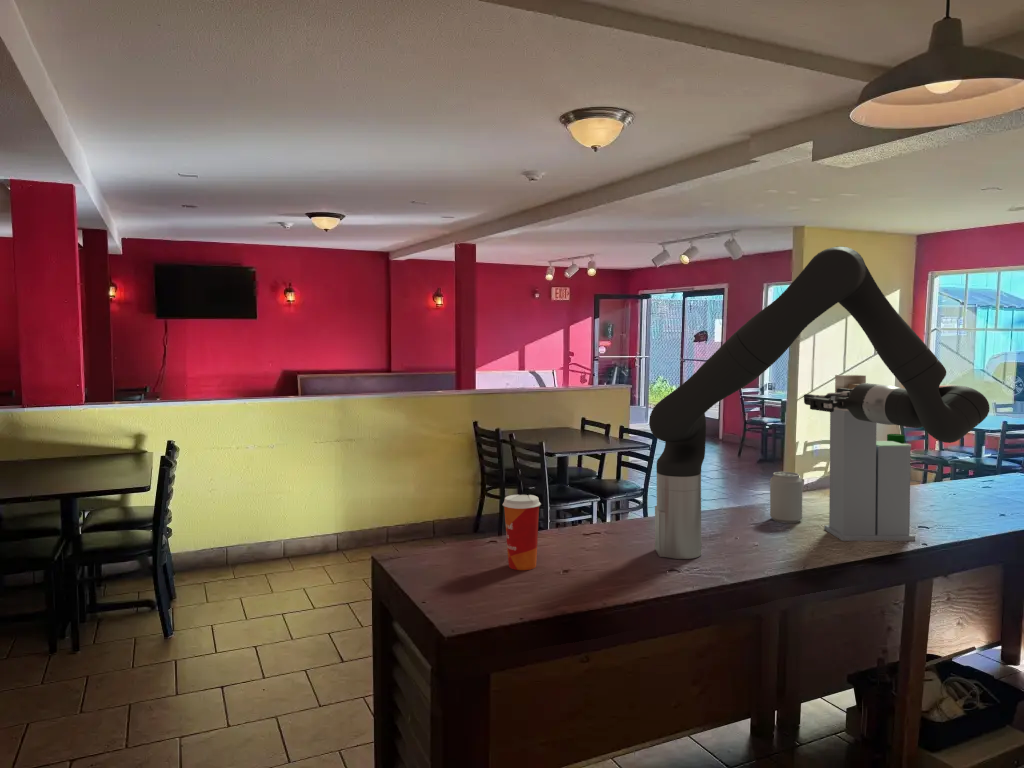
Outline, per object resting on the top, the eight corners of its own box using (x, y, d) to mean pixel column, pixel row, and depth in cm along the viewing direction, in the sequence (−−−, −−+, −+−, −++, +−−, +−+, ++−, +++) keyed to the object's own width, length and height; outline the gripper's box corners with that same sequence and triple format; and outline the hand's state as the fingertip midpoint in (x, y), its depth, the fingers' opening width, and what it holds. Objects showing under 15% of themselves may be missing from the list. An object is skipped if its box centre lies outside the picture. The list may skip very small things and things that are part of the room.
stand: (841, 540, 159) (843, 398, 157) (824, 529, 169) (825, 395, 167) (915, 540, 158) (917, 397, 156) (893, 529, 168) (894, 394, 166)
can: (797, 525, 173) (797, 476, 172) (766, 521, 177) (766, 473, 177) (805, 519, 179) (806, 472, 178) (775, 515, 183) (775, 469, 183)
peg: (865, 400, 150) (866, 377, 150) (835, 395, 166) (835, 375, 166) (889, 400, 150) (889, 377, 150) (856, 395, 166) (856, 374, 165)
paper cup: (507, 559, 148) (506, 493, 147) (543, 561, 146) (542, 494, 146) (500, 571, 140) (499, 501, 139) (538, 573, 139) (537, 502, 138)
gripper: (908, 379, 139) (847, 374, 155) (849, 390, 135) (792, 383, 151) (910, 416, 140) (849, 407, 155) (851, 429, 136) (795, 418, 152)
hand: (821, 395), depth 153 cm, fingers open, 8 cm apart
